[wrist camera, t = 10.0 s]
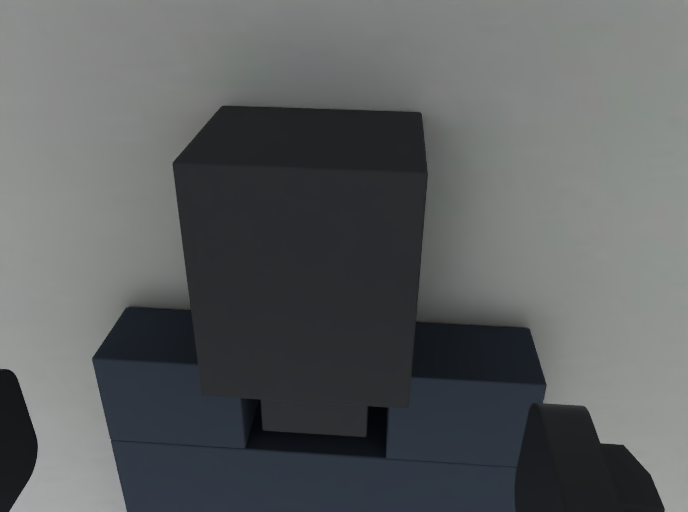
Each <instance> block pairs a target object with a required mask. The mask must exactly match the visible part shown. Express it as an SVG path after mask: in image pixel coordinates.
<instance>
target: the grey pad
mask: <svg viewBox="0 0 688 512" xmlns="http://www.w3.org/2000/svg"><path fill="white" fill-rule="evenodd" d="M92 361H93V365H94V369H95V374H96V378H97V383H98V387H99V391H100V396H101V400H102V404H103V409H104V413H105V417H106V422H107V426H108V430H109V435H110V439H111V443H112V448H113V452H114V456H115V461H116V465H117V470H118V474H119V478H120V483H121V487H122V491H123V496H124V500H125V504H126V509H127V512H516V510H515V493H514V489H515V475H516V469H517V464H518V460H519V455H520V450H521V445H522V441H523V436H524V431H525V426H526V422H527V417H528V412H529V409H530V406H531V405H532V404H533V403H543V400H544V395H545V390H546V386H547V385H546V382H545V379H544V375H543V372H542V369H541V365H540V362H539V359H538V355H537V352H536V349H535V345H534V342H533V339H532V335H531V332H530V329H525V328H506V327H487V326H469V325H450V324H431V323H416V325H415V338H414V350H413V363H412V375H411V387H410V400H409V407H408V408H389V407H373V406H369V409H368V425H367V436H366V437H355V436H339V435H324V434H309V433H293V432H278V431H264V430H263V429H262V416H261V402H260V399H244V398H228V397H212V396H203V395H202V392H201V384H200V376H199V368H198V361H197V353H196V345H195V337H194V329H193V321H192V313H191V311H182V310H164V309H145V308H126V309H125V310H124V312H123V313H122V315H121V316H120V318H119V319H118V321H117V322H116V324H115V325H114V327H113V328H112V330H111V331H110V333H109V334H108V336H107V337H106V339H105V340H104V342H103V343H102V345H101V346H100V348H99V349H98V350H97V352H96V353H95V355H94V356H93V358H92Z"/></svg>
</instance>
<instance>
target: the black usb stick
mask: <svg viewBox="0 0 688 512" xmlns="http://www.w3.org/2000/svg"><path fill="white" fill-rule="evenodd" d="M173 171H174V179H175V187H176V195H177V203H178V211H179V219H180V227H181V234H182V242H183V250H184V258H185V266H186V274H187V282H188V290H189V297H190V305H191V313H192V321H193V329H194V337H195V345H196V353H197V361H198V368H199V376H200V384H201V392H202V395H203V396H212V397H228V398H244V399H260V402H261V416H262V429H263V430H264V431H278V432H293V433H309V434H324V435H339V436H355V437H366V436H367V425H368V409H369V406H373V407H389V408H408V407H409V400H410V387H411V375H412V363H413V350H414V338H415V325H416V313H417V301H418V288H419V276H420V264H421V251H422V239H423V226H424V214H425V202H426V189H427V177H428V172H427V162H426V152H425V142H424V132H423V122H422V114H421V113H419V112H390V111H360V110H330V109H300V108H271V107H241V106H222V107H221V108H220V109H219V110H218V111H217V112H216V113H215V115H214V116H213V117H212V118H211V119H210V120H209V121H208V123H207V124H206V125H205V126H204V127H203V128H202V130H201V131H200V132H199V133H198V134H197V135H196V136H195V138H194V139H193V140H192V141H191V142H190V143H189V145H188V146H187V147H186V148H185V149H184V150H183V151H182V153H181V154H180V155H179V156H178V157H177V158H176V160H175V161H174V162H173Z"/></svg>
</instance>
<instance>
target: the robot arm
mask: <svg viewBox="0 0 688 512" xmlns="http://www.w3.org/2000/svg"><path fill="white" fill-rule="evenodd" d="M37 451H38V444H37V438H36V434H35V431H34V428H33V425H32V422H31V419H30V416H29V413H28V410H27V406H26V403H25V400H24V397H23V394H22V391H21V388H20V385H19V382H18V379H17V377H16V375H15V374H14V373H13V372H12V371H10V370H7V369H0V512H9V511H10V509H11V508H12V506H13V504H14V503H15V501H16V500H17V498H18V496H19V495H20V493H21V492H22V490H23V488H24V487H25V485H26V484H27V482H28V480H29V479H30V477H31V475H32V472H33V470H34V467H35V463H36V459H37ZM514 493H515V510H516V512H664V511H665V508H664V506H663V504H662V501H661V499H660V496H659V494H658V492H657V489H656V487H655V485H654V482H653V480H652V477H651V475H650V474H649V473H648V472H647V471H646V469H645V468H644V467H643V466H642V465H641V464H640V463H639V462H638V461H637V459H636V458H635V457H634V456H633V455H632V454H631V453H630V452H629V451H628V450H627V448H626V447H625V446H624V445H616V444H601V443H600V441H599V439H598V436H597V433H596V430H595V427H594V425H593V422H592V419H591V416H590V414H589V412H588V410H587V408H586V407H584V406H575V405H559V404H543V403H533V404H532V405H531V406H530V409H529V412H528V417H527V422H526V426H525V431H524V436H523V441H522V445H521V450H520V455H519V460H518V464H517V469H516V475H515V489H514Z"/></svg>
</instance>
